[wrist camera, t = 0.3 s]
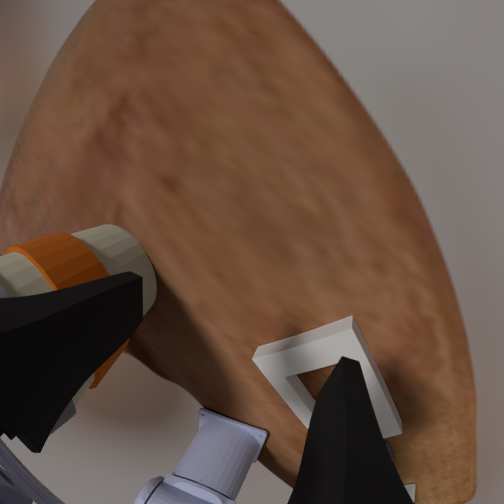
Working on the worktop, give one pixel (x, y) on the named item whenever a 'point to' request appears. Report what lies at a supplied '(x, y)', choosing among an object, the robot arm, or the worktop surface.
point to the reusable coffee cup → (76, 275)
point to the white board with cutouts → (321, 355)
